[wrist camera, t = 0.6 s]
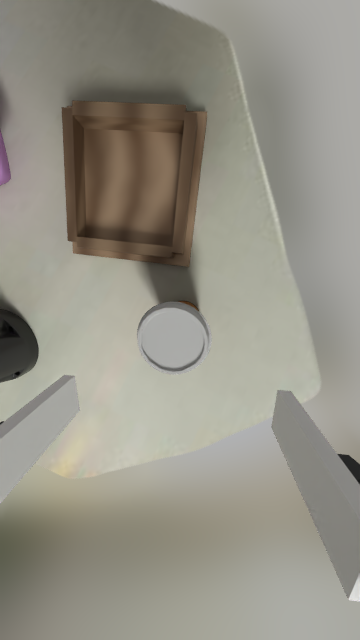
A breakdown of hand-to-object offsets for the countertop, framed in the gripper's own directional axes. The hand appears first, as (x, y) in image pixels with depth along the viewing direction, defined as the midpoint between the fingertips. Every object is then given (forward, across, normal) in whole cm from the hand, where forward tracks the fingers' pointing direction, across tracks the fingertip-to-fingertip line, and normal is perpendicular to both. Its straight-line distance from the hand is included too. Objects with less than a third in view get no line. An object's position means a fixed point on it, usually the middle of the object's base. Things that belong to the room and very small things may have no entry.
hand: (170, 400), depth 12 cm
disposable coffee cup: (+23, -1, 0) cm, 23 cm away
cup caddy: (+23, -9, +20) cm, 31 cm away
